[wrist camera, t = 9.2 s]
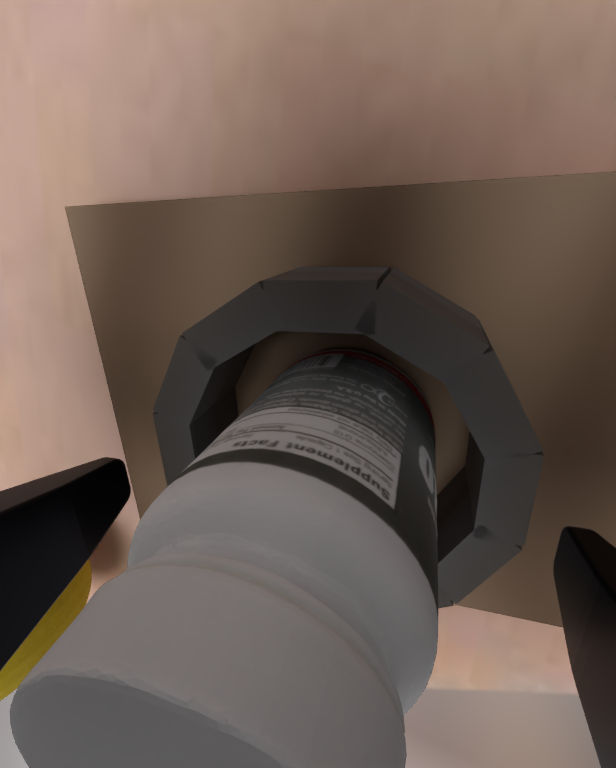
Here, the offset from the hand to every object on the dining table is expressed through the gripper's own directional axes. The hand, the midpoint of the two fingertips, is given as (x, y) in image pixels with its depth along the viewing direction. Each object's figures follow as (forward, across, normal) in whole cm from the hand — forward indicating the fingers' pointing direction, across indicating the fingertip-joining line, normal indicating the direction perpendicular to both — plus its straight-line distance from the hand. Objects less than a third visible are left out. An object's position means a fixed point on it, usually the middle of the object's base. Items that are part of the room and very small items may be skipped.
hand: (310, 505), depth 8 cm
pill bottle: (+4, 0, 0) cm, 4 cm away
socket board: (+5, 0, 0) cm, 5 cm away
